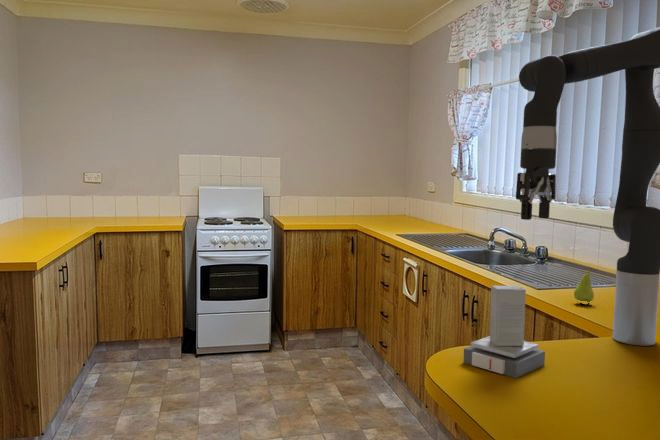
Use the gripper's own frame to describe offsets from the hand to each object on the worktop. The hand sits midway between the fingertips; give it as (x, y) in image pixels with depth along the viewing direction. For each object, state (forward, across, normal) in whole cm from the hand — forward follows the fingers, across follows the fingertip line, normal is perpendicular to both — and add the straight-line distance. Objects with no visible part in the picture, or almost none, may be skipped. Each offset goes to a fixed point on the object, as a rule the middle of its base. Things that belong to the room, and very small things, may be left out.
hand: (535, 218), depth 124 cm
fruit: (+30, -58, -11) cm, 66 cm away
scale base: (+30, +15, +2) cm, 34 cm away
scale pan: (+27, +15, +2) cm, 31 cm away
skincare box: (+26, +15, +2) cm, 30 cm away
